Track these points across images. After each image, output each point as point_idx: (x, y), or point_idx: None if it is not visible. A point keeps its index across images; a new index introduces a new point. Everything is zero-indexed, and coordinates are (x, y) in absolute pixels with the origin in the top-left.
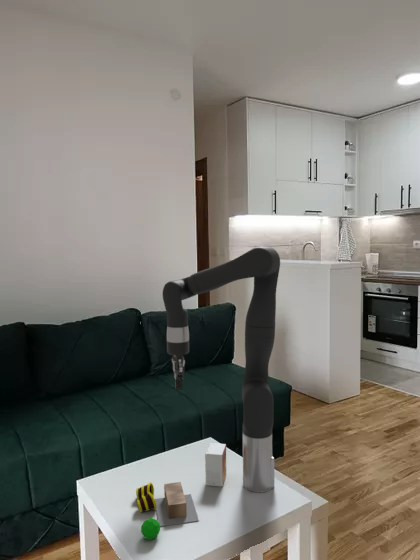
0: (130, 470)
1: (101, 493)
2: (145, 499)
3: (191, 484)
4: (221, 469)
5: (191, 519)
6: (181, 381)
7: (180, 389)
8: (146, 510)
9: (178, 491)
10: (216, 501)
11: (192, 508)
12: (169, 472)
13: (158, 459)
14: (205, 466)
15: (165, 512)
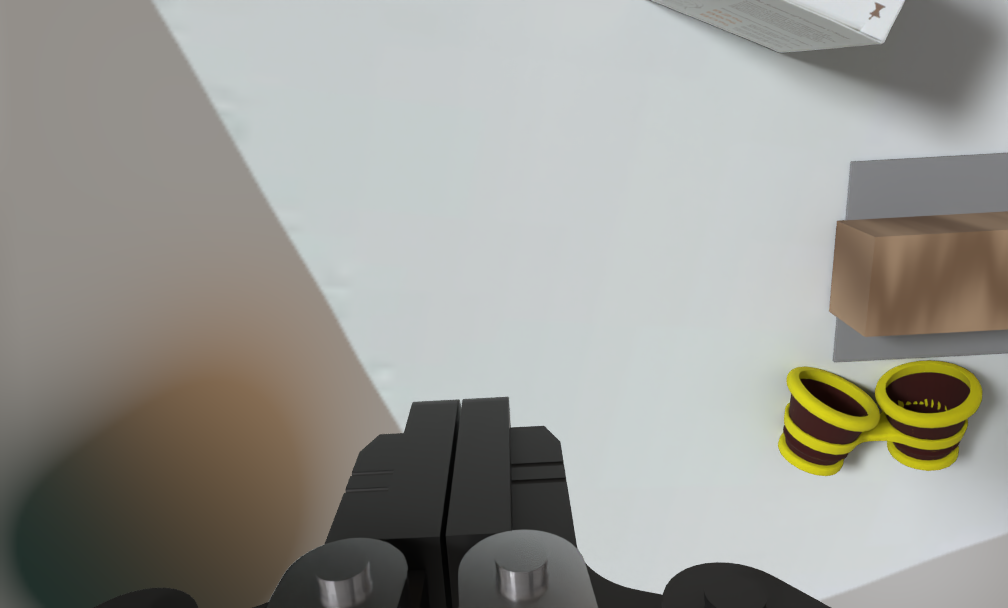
0: None
1: None
2: (961, 435)
3: (741, 144)
4: None
5: None
6: (507, 507)
7: (512, 428)
8: (937, 406)
9: (975, 259)
10: (969, 12)
11: (993, 169)
12: (570, 267)
13: (396, 325)
14: (832, 48)
15: None
